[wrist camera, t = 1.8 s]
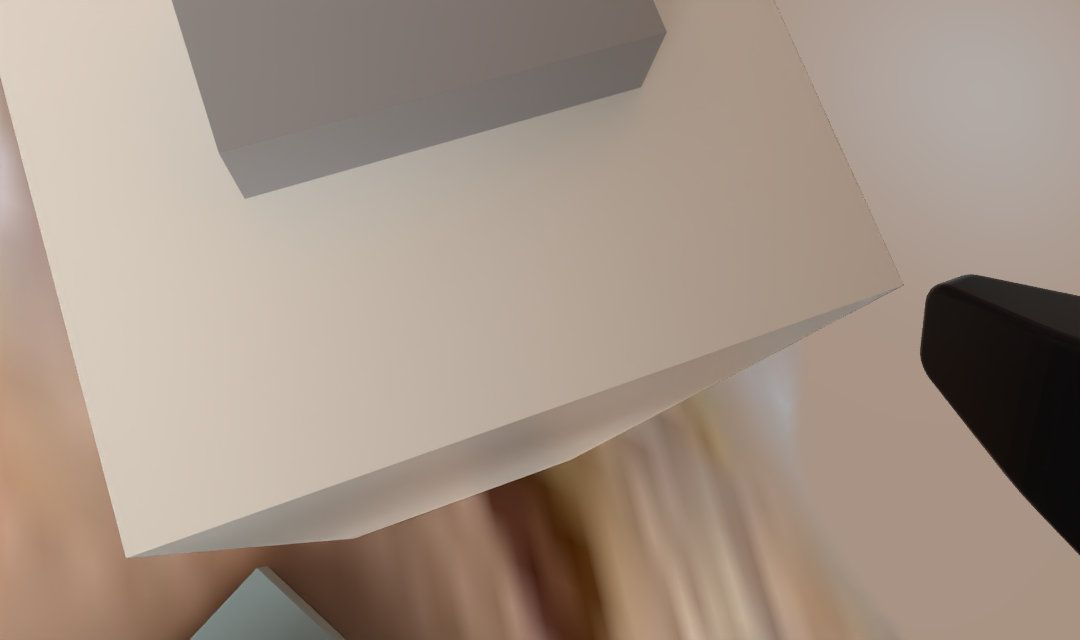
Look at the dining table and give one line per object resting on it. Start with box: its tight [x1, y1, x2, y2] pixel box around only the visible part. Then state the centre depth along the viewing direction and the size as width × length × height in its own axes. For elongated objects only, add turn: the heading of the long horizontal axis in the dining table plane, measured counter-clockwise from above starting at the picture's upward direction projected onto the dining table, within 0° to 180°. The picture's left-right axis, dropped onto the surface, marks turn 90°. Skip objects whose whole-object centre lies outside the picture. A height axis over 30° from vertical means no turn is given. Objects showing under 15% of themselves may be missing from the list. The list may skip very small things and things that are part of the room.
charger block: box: [0, 0, 904, 558], centre depth 11 cm, size 4×4×14 cm
